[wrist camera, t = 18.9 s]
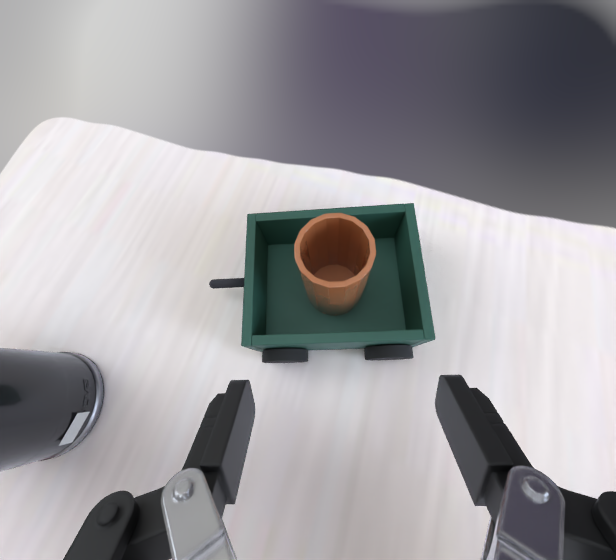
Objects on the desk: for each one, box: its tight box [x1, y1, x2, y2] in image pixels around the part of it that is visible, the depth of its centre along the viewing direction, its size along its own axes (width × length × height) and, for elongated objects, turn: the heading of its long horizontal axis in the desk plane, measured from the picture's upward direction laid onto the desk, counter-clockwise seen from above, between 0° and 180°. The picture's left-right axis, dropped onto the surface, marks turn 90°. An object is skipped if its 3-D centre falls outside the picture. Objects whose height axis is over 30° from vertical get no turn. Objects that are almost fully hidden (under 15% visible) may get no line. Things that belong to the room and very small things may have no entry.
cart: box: [241, 203, 435, 352], centre depth 26 cm, size 15×12×6 cm
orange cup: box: [294, 213, 376, 316], centre depth 24 cm, size 5×5×10 cm
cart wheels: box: [209, 278, 413, 363], centre depth 27 cm, size 18×14×4 cm
